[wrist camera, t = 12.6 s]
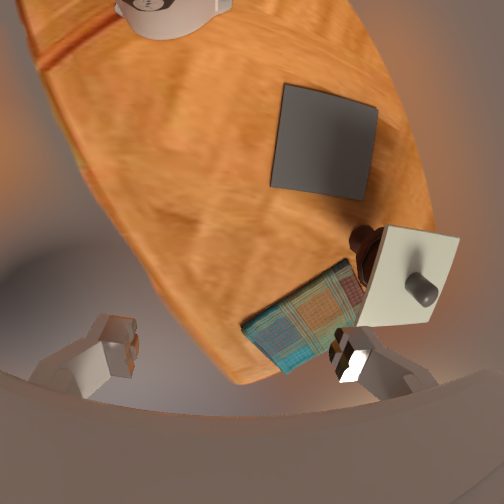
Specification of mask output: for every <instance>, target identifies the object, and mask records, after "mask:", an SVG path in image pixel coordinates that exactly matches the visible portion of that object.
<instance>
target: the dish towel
mask: <svg viewBox="0 0 504 504" xmlns="http://www.w3.org/2000/svg"><path fill="white" fill-rule="evenodd" d="M363 297H364V292H363V290H362V288H361V286H360V284H359V283H358V280H357V278H356V276H355V274H354V272H353V270H352V268H351V265H350V264H349V263H348V261H347V260H346V259H345V260H344V261H342V262H340V263H339V264H337V265H336V266H334V267H333V268H331V269H330V270H328V271H327V272H325V273H324V274H322V275H321V276H319V277H318V278H317V279H315V280H314V281H313V282H311V283H309V284H308V285H306V286H305V287H303V288H301V289H300V290H298V291H297V292H295V293H294V294H292V295H291V296H289V297H287V298H285V299H284V300H282V301H280V302H279V303H277V304H276V305H274V306H272V307H271V308H269V309H267V310H266V311H265V312H263V313H261V314H260V315H258V316H257V317H256V318H254V319H253V320H252V321H250V322H248V323H247V324H245V325H244V327H243V328H242V329H241V331H242V333H243V334H244V335H245V336H246V337H247V338H248V339H249V340H250V341H251V342H252V343H253V344H254V345H255V346H256V347H257V348H258V349H259V350H260V351H261V352H262V353H263V354H264V355H265V356H266V357H267V358H269V359H270V360H271V361H272V362H273V363H274V364H275V365H276V366H278V367H279V368H280V370H281V371H282V372H284V373H285V374H286V375H288V374H289V373H290V372H291V371H292V370H293V369H295V368H296V367H298V366H300V365H302V364H303V363H305V362H307V361H309V360H311V359H313V358H315V357H316V356H318V355H320V354H322V353H324V352H325V351H327V350H328V349H329V347H330V344H331V343H332V342H333V341H334V340H335V336H334V334H335V331H336V329H337V328H342V327H355V325H354V322H355V319H356V316H357V314H358V311H359V308H360V305H361V303H362V300H363Z"/></svg>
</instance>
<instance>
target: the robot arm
mask: <svg viewBox="0 0 504 504" xmlns="http://www.w3.org/2000/svg"><path fill="white" fill-rule="evenodd" d="M115 2H116V5H115V8H114V9H115V11H116V13H117V14H118V15H120V16H122V17H124V18H125V19H126V20H127V21H128V23H129V25H130V27H131V28H132V29H133V30H134V31H135V32H136V33H137V34H139V35H141V36H143V37H145V38H149V39H155V40H168V39H174V38H178V37H182V36H185V35H187V34H190V33H192V32H194V31H195V30H197V29H199V28H200V27H202V26H203V25H204V24H205V23H207V22H208V21H209V20H210V19H211V18H212V17H214V16H216V15H219V14H221V13H224V12H226V11H228V10H230V9H231V8H232V5H233V4H232V0H115ZM136 329H137V324H136V320H135V319H134V318H126V317H120V316H114V315H107V314H99V315H98V317H97V318H96V320H95V322H94V323H93V325H92V327H91V329H90V331H89V332H88V334H87V336H86V338H81V339H79V340H77V341H75V342H73V343H72V344H70V345H68V346H66V347H64V348H63V349H61V350H59V351H57V352H56V353H54V354H52V355H50V356H48V357H46V358H45V359H43V360H41V361H39V363H38V364H37V366H36V368H35V370H34V371H33V373H32V375H31V377H30V379H29V381H26V380H23V379H21V378H18V377H16V376H13V375H11V374H8V373H6V372H3V371H1V370H0V504H504V373H502V372H500V371H498V370H496V369H494V368H491V367H486V368H483V369H481V370H478V371H476V372H474V373H471V374H469V375H466V376H464V377H461V378H458V379H456V380H453V381H450V382H447V383H444V384H441V385H439V384H438V383H437V381H436V380H435V378H434V377H433V376H432V374H431V373H430V372H429V370H428V369H426V368H424V367H422V366H421V365H419V364H417V363H415V362H413V361H411V360H410V359H408V358H406V357H404V356H402V355H401V354H398V353H397V352H395V351H393V350H392V349H390V348H385V347H384V345H383V344H382V342H381V341H380V339H379V338H378V337H377V335H376V334H375V332H374V331H373V330H372V328H371V327H370V326H358V327H342V328H337V329H336V331H335V334H334V336H335V340H334V341H333V342H332V343H331V344H330V347H329V359H330V362H331V364H332V365H334V366H335V367H336V369H335V373H336V375H337V377H338V379H339V381H340V382H346V381H356V380H357V382H358V383H360V384H361V385H362V386H363V387H364V388H366V389H367V390H368V391H369V392H371V393H372V394H373V395H374V396H375V397H377V398H378V399H379V400H380V401H379V402H374V403H369V404H365V405H359V406H354V407H348V408H341V409H335V410H328V411H321V412H311V413H301V414H289V415H273V416H238V417H236V416H202V415H187V414H175V413H164V412H157V411H148V410H142V409H135V408H129V407H123V406H118V405H113V404H107V403H102V402H98V401H94V400H89V399H87V398H88V397H89V396H90V395H91V394H92V393H93V392H95V391H96V390H97V389H98V388H99V387H100V386H101V385H102V384H104V383H105V382H106V381H107V380H108V379H109V378H110V377H111V376H116V377H123V378H132V374H133V370H134V367H135V366H134V360H135V359H137V356H138V351H139V338H138V335H137V334H136V333H135V332H136Z"/></svg>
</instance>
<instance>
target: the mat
mask: <svg viewBox="0 0 504 504" xmlns="http://www.w3.org/2000/svg"><path fill="white" fill-rule="evenodd" d="M377 118H378V109H375V108H372V107H369V106H366V105H363V104H360V103H357V102H354V101H350V100H347V99H344V98H340V97H337V96H333V95H329V94H325V93H321V92H317V91H313V90H309V89H304V88H300V87H295V86H290V85H284V92H283V99H282V107H281V114H280V121H279V128H278V136H277V143H276V150H275V157H274V164H273V171H272V178H271V185H270V187H274V188H282V189H290V190H297V191H304V192H311V193H318V194H324V195H331V196H337V197H343V198H349V199H355V200H360V201H363V200H364V196H365V191H366V186H367V181H368V175H369V170H370V164H371V159H372V152H373V146H374V140H375V133H376V126H377Z"/></svg>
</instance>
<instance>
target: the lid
mask: <svg viewBox="0 0 504 504" xmlns="http://www.w3.org/2000/svg"><path fill="white" fill-rule="evenodd" d="M459 240H460V238H458V237H457V236H451V235H446V234H441V233H436V232H430V231H425V230H419V229H413V228H408V227H402V226H396V225H390V224H385V226H384V230H383V234H382V238H381V242H380V245H379V249H378V252H377V256H376V259H375V263H374V266H373V269H372V272H371V276H370V279H369V282H368V285H367V288H366V291H365V294H364V297H363V300H362V303H361V305H360V308H359V311H358V314H357V316H356V319H355V322H354V325H355V327H358V326H370V327H374V326H389V325H401V324H413V323H424V322H428V321H429V318H430V316H431V314H432V312H433V310H434V307H435V305H436V303H437V301H438V298H439V296H440V293H441V291H442V288H443V286H444V283H445V281H446V278H447V276H448V273H449V270H450V267H451V265H452V262H453V259H454V256H455V253H456V250H457V247H458V243H459Z"/></svg>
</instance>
